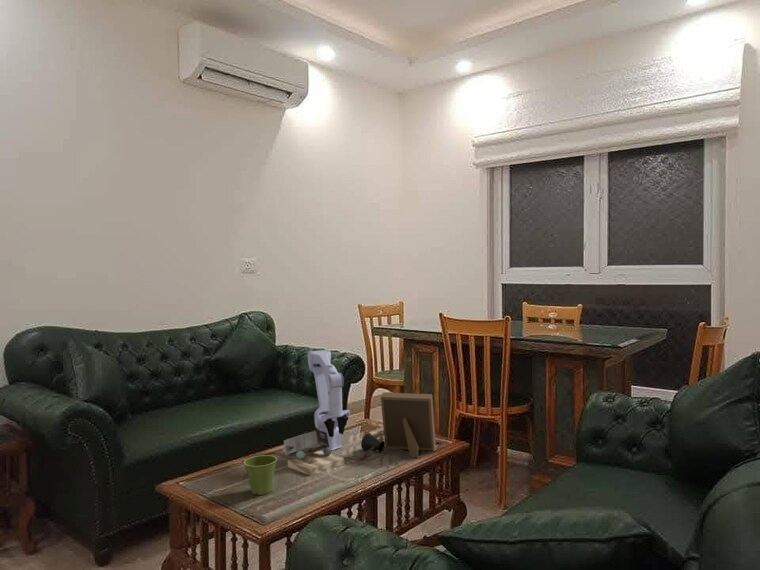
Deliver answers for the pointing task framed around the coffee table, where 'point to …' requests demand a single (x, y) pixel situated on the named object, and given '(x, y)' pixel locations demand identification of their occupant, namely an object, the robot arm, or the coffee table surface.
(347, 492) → the coffee table surface
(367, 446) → the coffee pot
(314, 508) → the coffee table surface
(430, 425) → the photo frame
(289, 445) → the coffee box
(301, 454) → the teal ball
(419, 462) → the coffee table surface
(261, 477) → the plant pot
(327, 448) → the ball
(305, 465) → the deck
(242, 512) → the coffee table surface
